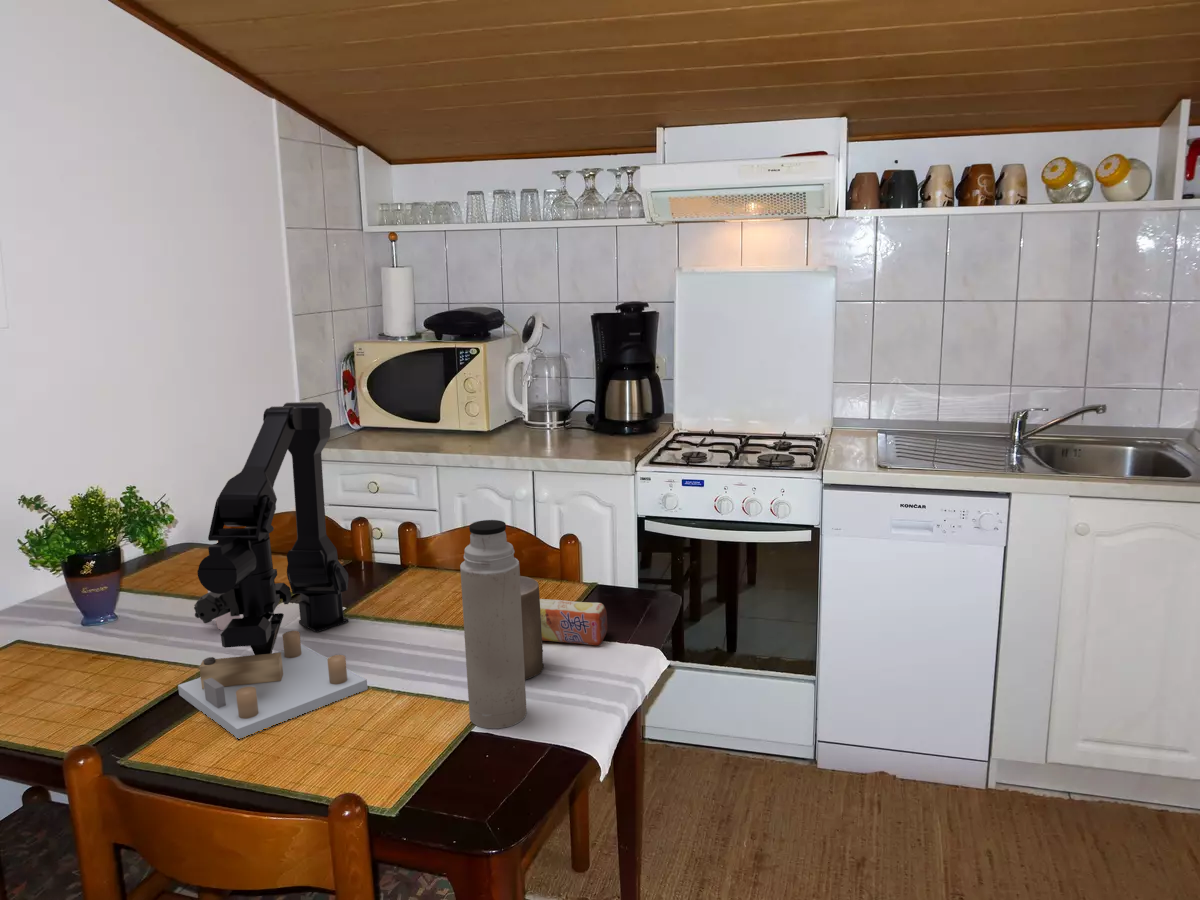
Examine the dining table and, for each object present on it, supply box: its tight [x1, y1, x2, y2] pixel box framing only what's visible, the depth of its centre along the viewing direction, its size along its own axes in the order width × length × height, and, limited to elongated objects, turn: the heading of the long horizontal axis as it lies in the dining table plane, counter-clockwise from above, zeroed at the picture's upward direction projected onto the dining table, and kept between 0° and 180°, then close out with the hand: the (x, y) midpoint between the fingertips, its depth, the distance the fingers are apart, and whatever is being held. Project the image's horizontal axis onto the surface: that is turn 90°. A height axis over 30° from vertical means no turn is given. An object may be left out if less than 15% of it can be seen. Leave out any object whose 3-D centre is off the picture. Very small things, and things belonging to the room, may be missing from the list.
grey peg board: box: [177, 630, 368, 740], centre depth 140 cm, size 20×20×5 cm
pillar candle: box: [520, 575, 545, 680], centre depth 145 cm, size 10×10×15 cm
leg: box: [198, 652, 283, 689], centre depth 141 cm, size 11×2×4 cm, turn 101°
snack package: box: [540, 598, 608, 647], centre depth 158 cm, size 21×7×7 cm, turn 77°
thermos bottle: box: [459, 519, 527, 730], centre depth 129 cm, size 8×8×28 cm
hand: (264, 665), depth 144 cm, fingers closed
